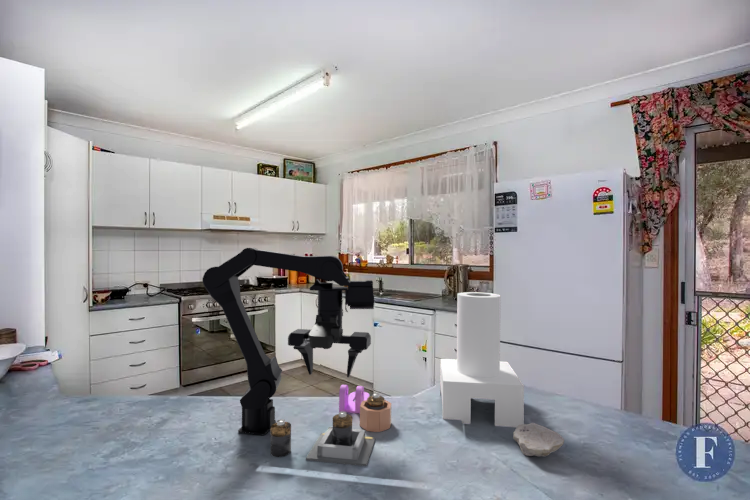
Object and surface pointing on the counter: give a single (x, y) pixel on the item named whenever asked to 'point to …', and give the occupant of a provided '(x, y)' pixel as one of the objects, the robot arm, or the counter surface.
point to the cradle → (342, 449)
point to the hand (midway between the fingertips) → (329, 375)
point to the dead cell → (375, 402)
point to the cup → (375, 417)
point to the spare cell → (280, 438)
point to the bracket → (351, 399)
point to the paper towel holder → (480, 365)
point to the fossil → (537, 439)
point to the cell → (342, 429)
